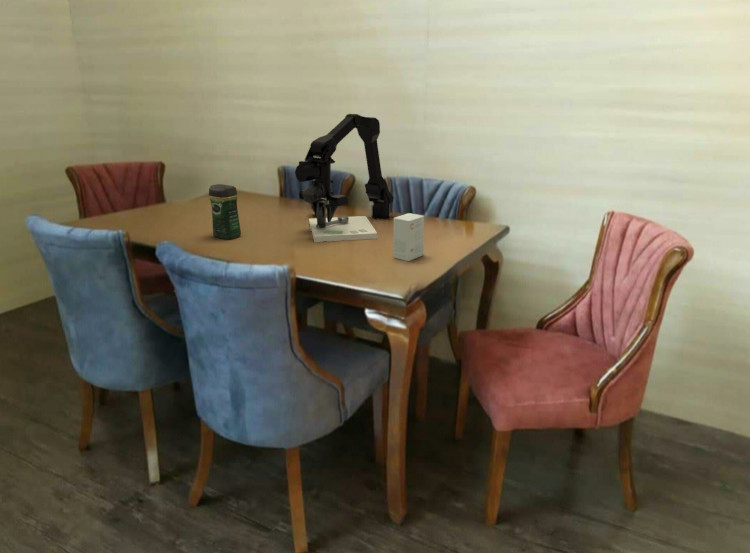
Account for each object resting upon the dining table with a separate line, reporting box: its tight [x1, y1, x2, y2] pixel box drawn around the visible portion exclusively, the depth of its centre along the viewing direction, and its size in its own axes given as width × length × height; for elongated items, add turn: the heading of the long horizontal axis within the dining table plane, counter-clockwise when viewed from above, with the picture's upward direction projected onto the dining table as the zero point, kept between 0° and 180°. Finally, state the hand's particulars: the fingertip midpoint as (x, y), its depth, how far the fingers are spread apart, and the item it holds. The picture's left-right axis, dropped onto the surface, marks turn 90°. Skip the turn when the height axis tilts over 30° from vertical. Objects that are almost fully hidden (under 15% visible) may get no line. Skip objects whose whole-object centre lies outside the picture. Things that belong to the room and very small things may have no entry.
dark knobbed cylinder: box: [316, 201, 350, 228], centre depth 208 cm, size 14×4×9 cm, turn 132°
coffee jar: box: [208, 183, 242, 240], centre depth 201 cm, size 10×8×19 cm
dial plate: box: [308, 215, 378, 243], centre depth 210 cm, size 22×25×2 cm
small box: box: [392, 212, 425, 262], centre depth 179 cm, size 8×6×13 cm
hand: (323, 220), depth 205 cm, fingers open, 5 cm apart
